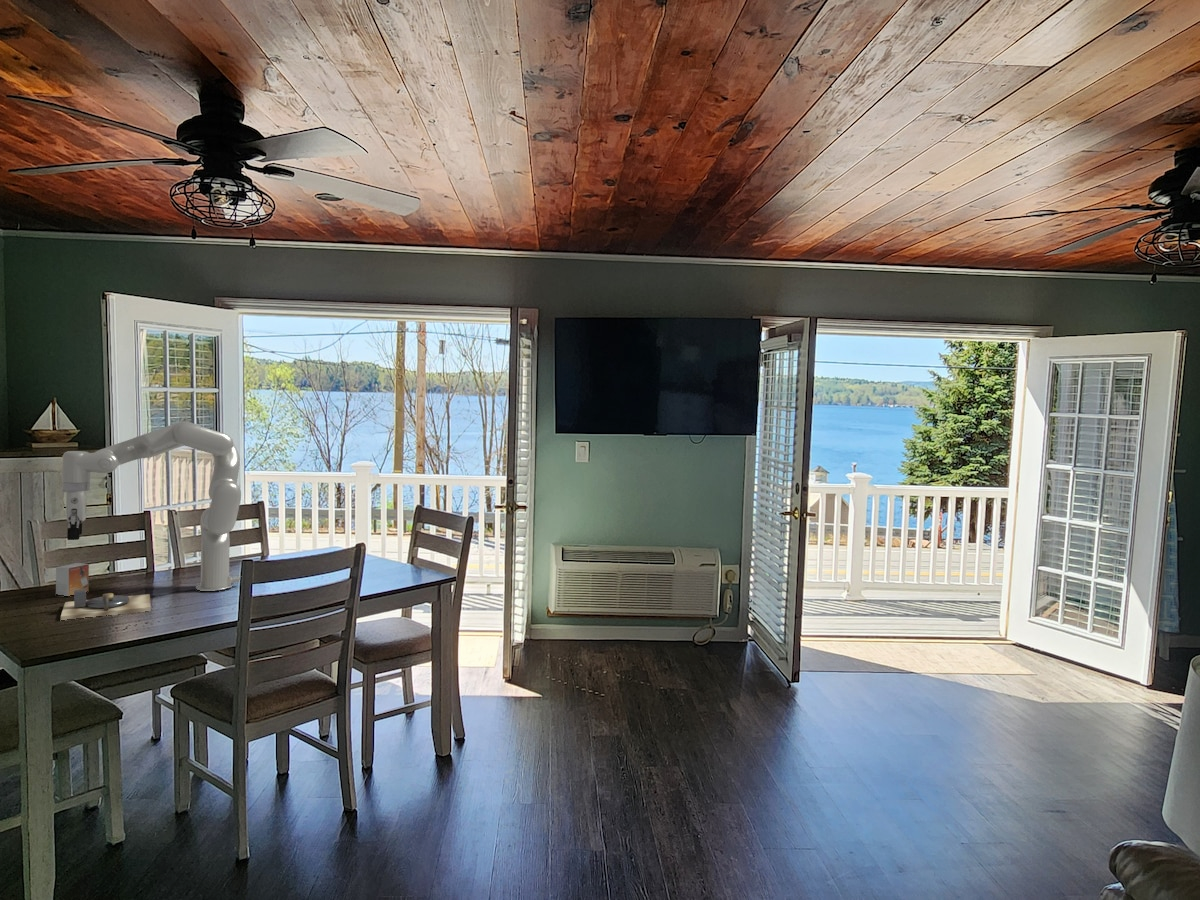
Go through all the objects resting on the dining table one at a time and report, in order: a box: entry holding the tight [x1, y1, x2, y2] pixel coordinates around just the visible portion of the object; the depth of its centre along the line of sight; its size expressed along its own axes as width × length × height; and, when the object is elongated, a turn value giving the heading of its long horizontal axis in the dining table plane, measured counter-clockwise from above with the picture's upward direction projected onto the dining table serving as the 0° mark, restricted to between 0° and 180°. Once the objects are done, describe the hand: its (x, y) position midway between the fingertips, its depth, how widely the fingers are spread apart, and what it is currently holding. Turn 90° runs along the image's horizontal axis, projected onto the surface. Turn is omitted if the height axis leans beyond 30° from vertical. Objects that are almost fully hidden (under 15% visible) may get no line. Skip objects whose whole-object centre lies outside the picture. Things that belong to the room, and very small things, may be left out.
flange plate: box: [73, 589, 129, 608], centre depth 231 cm, size 15×12×5 cm
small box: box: [55, 562, 90, 597], centre depth 247 cm, size 8×6×10 cm
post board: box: [60, 592, 152, 621], centre depth 232 cm, size 24×18×6 cm
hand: (74, 537), depth 233 cm, fingers open, 9 cm apart
